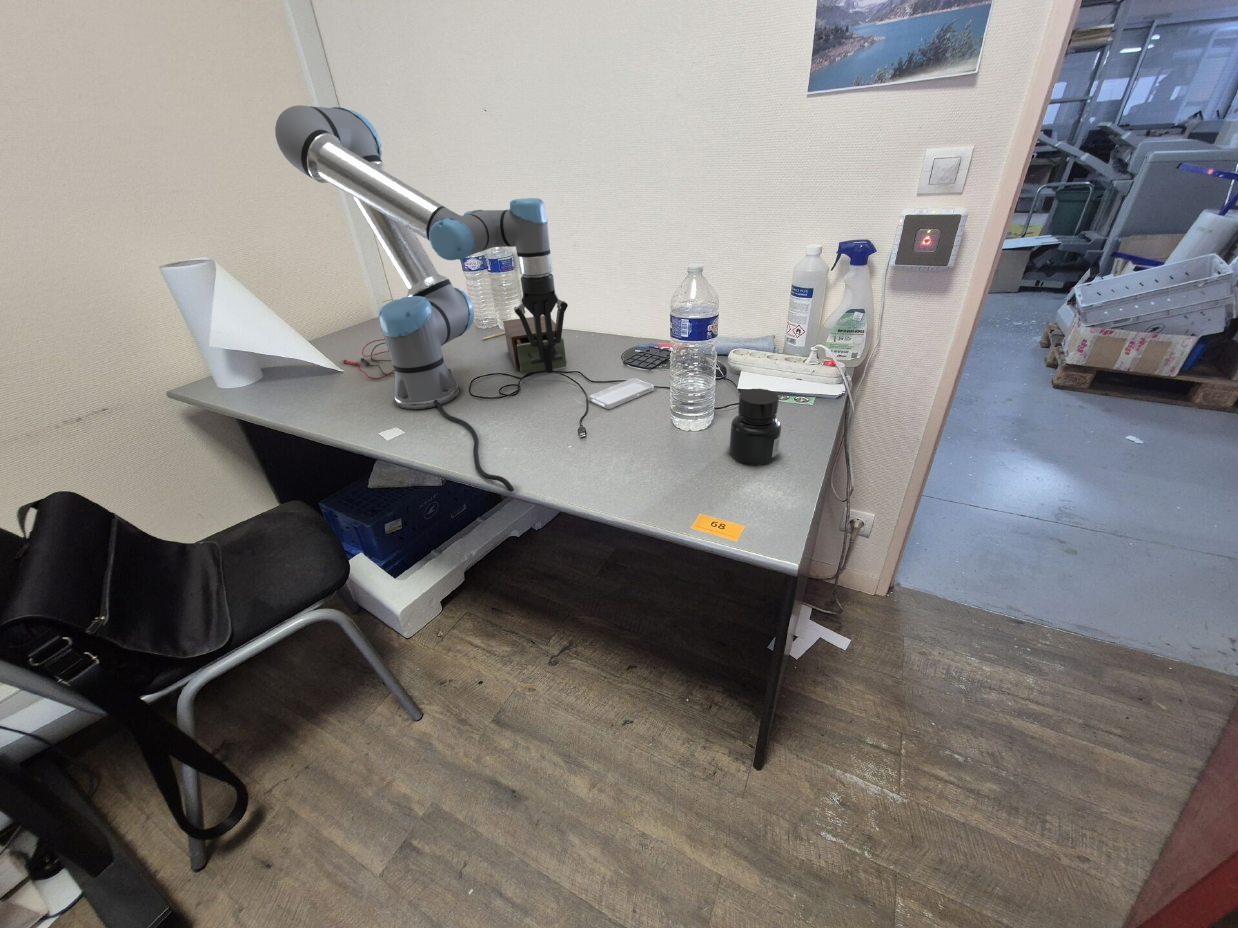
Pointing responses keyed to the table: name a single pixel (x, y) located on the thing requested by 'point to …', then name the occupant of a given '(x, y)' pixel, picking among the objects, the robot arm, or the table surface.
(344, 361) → the multimeter test leads
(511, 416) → the table surface
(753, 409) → the ink bottle
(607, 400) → the phone case
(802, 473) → the table surface
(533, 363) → the drawer
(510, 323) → the cabinet
